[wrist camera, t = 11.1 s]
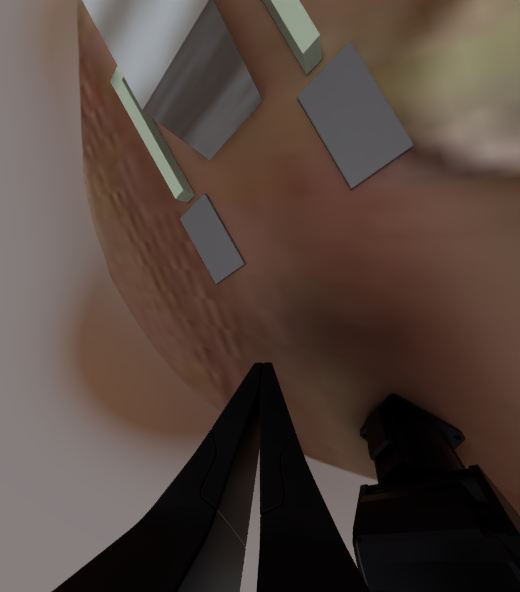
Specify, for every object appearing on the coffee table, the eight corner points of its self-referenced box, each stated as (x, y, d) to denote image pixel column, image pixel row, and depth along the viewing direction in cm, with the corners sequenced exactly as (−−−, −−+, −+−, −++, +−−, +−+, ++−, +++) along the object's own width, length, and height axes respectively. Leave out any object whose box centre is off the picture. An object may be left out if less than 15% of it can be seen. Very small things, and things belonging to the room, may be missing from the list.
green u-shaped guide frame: (412, 147, 15) (421, 132, 13) (217, 283, 25) (208, 285, 23) (244, -130, 16) (232, -179, 14) (119, 107, 26) (103, 95, 24)
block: (263, 101, 19) (211, -5, 11) (209, 160, 22) (142, 110, 15) (207, 2, 19) (119, -167, 12) (163, 75, 23) (72, -18, 15)
